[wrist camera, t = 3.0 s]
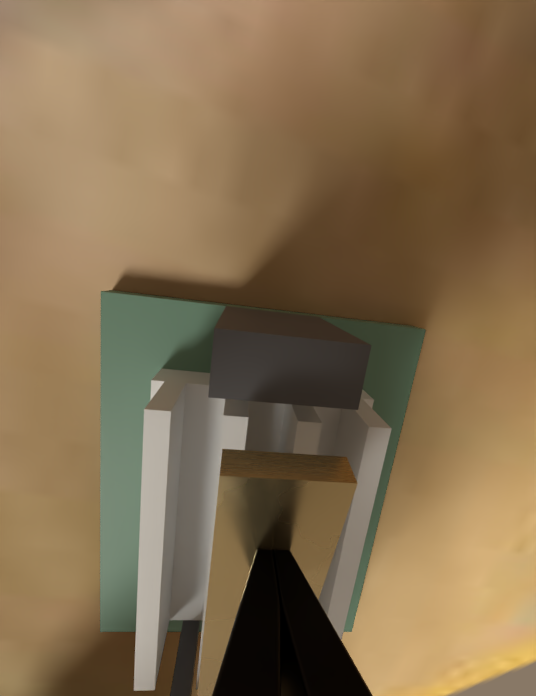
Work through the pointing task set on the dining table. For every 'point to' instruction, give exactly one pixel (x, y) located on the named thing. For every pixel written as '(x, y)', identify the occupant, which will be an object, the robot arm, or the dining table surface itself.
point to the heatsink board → (230, 447)
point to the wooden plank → (269, 530)
